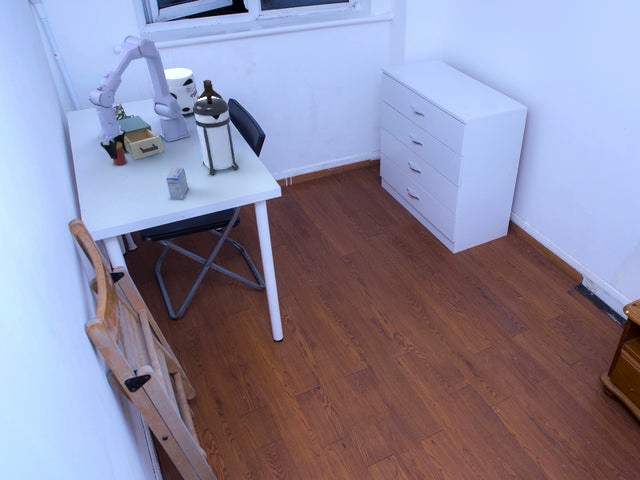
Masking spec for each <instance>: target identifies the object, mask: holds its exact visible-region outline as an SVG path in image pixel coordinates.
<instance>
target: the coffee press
mask: <svg viewBox="0 0 640 480" xmlns="http://www.w3.org/2000/svg"><path fill="white" fill-rule="evenodd" d="M205 97H206V98H202V99H199V100H198V101H196V102H195V104H194V106H193V112H194V113H193V114H194V122H195V125H196V129H197V134H198V138H199V144H200V149H201V154H202V160H203V161H202V165H204V166H206V168H208V169H209V172H208V173H209V175H211V176H215V173H216V171H217V170H218V171H219V170H220V171H221V170H226V169H229V168H232V169H233V170H234V171H237V170H239V169H240V166H239V165H238V164H237V162H236V161H237V157H236V152H235V145H234V139H233V131H232V125H231V115H230V112H229V109H230V105H229V104H228V102H227V101H226V100H225V99H224V98H223V99H221V98H218V97H212V95H211V94H210V93H207V94H206V96H205Z"/></svg>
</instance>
